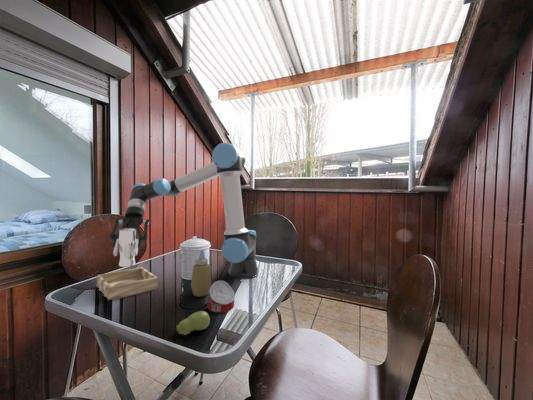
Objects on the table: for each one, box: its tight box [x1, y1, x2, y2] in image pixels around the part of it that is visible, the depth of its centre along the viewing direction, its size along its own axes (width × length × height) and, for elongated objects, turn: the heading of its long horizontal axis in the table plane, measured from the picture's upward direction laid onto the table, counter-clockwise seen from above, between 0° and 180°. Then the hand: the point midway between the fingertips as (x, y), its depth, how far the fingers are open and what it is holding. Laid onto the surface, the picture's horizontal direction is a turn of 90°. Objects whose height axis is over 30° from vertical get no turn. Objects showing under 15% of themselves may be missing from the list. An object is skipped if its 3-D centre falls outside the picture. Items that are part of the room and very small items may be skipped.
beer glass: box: [118, 228, 138, 268], centre depth 104 cm, size 7×7×15 cm
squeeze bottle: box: [190, 249, 212, 298], centre depth 101 cm, size 8×8×18 cm
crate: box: [96, 266, 159, 302], centre depth 105 cm, size 18×18×5 cm
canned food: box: [206, 280, 236, 313], centre depth 92 cm, size 11×10×10 cm
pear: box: [175, 310, 211, 336], centre depth 75 cm, size 6×5×10 cm
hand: (125, 254), depth 101 cm, fingers closed on beer glass, 7 cm apart
